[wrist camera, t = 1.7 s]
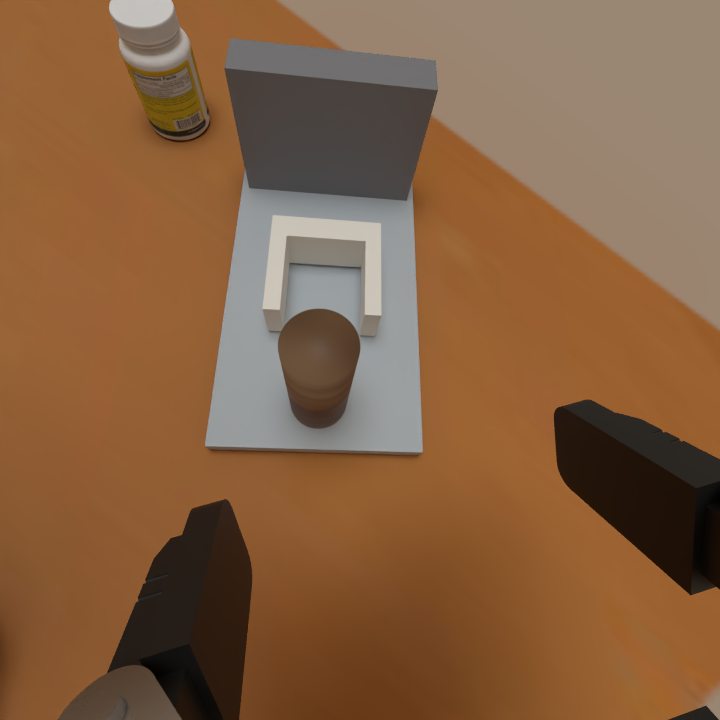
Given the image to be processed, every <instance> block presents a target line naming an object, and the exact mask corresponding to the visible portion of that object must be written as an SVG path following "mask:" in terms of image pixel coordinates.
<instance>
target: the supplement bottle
mask: <svg viewBox="0 0 720 720" xmlns="http://www.w3.org/2000/svg"><path fill="white" fill-rule="evenodd" d="M109 11H110V14H111V17H112V19H113V22H114V25H115V28H116V31H117V33H118V34H119V36H120V39H119V48H120V52H121V55H122V58H123V60H124V62H125V64H126V67H127V69H128V71H129V74H130V76H131V78H132V81H133V83H134V86H135V88H136V90H137V92H138V95H139V97H140V99H141V102H142V104H143V106H144V109H145V111H146V113H147V116H148V118H149V120H150V123H151V125H152V127H153V128H154V130H155V131H156V132H157V133H158V134H160V135H161V136H163V137H165V138H168V139H172V140H189V139H192V138H195V137H197V136H199V135H200V134H202V133H203V132H204V131H205V130H206V128H207V127H208V124H209V120H210V115H209V110H208V106H207V103H206V99H205V95H204V92H203V88H202V85H201V81H200V77H199V74H198V70H197V67H196V63H195V59H194V55H193V51H192V48H191V44H190V41H189V38H188V37H187V35H186V33H185V32H184V31H183V30H182V29H181V28H180V25H179V21H178V18H177V14H176V11H175V8H174V4H173V2H172V1H171V0H111V2H110V5H109Z"/></svg>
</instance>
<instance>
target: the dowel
mask: <svg viewBox="0 0 720 720" xmlns="http://www.w3.org/2000/svg"><path fill="white" fill-rule="evenodd" d="M278 353H279V358H280V362H281V366H282V371H283V375H284V379H285V384H286V388H287V392H288V397H289V401H290V405H291V410H292V412H293V414H294V416H295V417H296V419H297V420H298V421H299V422H300V423H302V424H303V425H305V426H307V427H310V428H315V429H321V428H326V427H329V426H331V425H333V424H335V423H336V422H337V421H338V420H339V419H340V418H341V417H342V415H343V414H344V411H345V409H346V405H347V401H348V397H349V393H350V390H351V386H352V382H353V378H354V374H355V370H356V366H357V363H358V359H359V355H360V339H359V335H358V333H357V331H356V329H355V327H354V326H353V324H352V323H351V322H350V321H349V320H348V319H347V318H346V317H344V316H343V315H341V314H339V313H337V312H335V311H332V310H328V309H310V310H306V311H303V312H301V313H298V314H297V315H295V316H294V317H292V318H291V319H290V320H289V321H288V322H287V323H286V324H285V326H284V327H283V329H282V331H281V333H280V335H279V339H278Z"/></svg>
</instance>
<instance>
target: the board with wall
mask: <svg viewBox="0 0 720 720" xmlns="http://www.w3.org/2000/svg"><path fill="white" fill-rule="evenodd" d="M225 73H226V78H227V83H228V87H229V92H230V97H231V102H232V107H233V112H234V117H235V122H236V126H237V131H238V136H239V141H240V146H241V151H242V156H243V161H244V165H245V173H244V180H243V187H242V194H241V200H240V207H239V214H238V221H237V228H236V235H235V242H234V249H233V256H232V263H231V269H230V276H229V283H228V290H227V297H226V304H225V311H224V318H223V325H222V332H221V338H220V345H219V352H218V359H217V366H216V373H215V380H214V387H213V394H212V400H211V407H210V414H209V421H208V428H207V435H206V442H205V447H207V448H208V449H216V450H251V451H286V452H321V453H356V454H391V455H420V454H421V453H423V446H422V420H421V394H420V369H419V343H418V317H417V291H416V265H415V240H414V214H413V188H412V180H413V177H414V173H415V169H416V166H417V162H418V159H419V155H420V152H421V148H422V145H423V141H424V137H425V134H426V130H427V127H428V123H429V120H430V116H431V113H432V109H433V106H434V102H435V98H436V95H437V91H438V86H437V72H436V61H434V60H425V59H416V58H407V57H398V56H389V55H379V54H371V53H361V52H352V51H343V50H334V49H325V48H316V47H307V46H297V45H288V44H279V43H270V42H261V41H252V40H243V39H234V38H230V42H229V47H228V52H227V58H226V63H225ZM273 215H280V216H293V217H306V218H319V219H333V220H346V221H359V222H372V223H381V319H380V322H379V325H378V328H377V331H376V334H375V336H364V335H360V300H361V267H348V266H333V265H317V264H302V263H289V275H288V286H287V298H286V309H285V321H284V326H285V324H286V323H287V322H288V321H289V320H290V319H291V318H292V317H294V316H295V315H297V314H298V313H301V312H303V311H306V310H310V309H328V310H332V311H335V312H337V313H339V314H341V315H343V316H344V317H346V318H347V319H348V320H349V321H350V322H351V323H352V324H353V326H354V327H355V329H356V331H357V333H358V335H359V339H360V355H359V359H358V363H357V366H356V370H355V374H354V378H353V382H352V386H351V390H350V393H349V397H348V401H347V405H346V409H345V411H344V414H343V415H342V417H341V418H340V419H339V420H338V421H337V422H336V423H335V424H333V425H331V426H329V427H326V428H321V429H315V428H310V427H307V426H305V425H303V424H302V423H300V422H299V421H298V420H297V419H296V417H295V416H294V414H293V412H292V410H291V405H290V401H289V397H288V392H287V388H286V384H285V379H284V375H283V371H282V366H281V362H280V358H279V353H278V339H279V335H280V333H281V331H269V330H268V328H267V325H266V321H265V317H264V313H263V309H262V308H263V299H264V290H265V280H266V271H267V262H268V253H269V244H270V235H271V225H272V216H273Z"/></svg>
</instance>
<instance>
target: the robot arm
mask: <svg viewBox="0 0 720 720" xmlns="http://www.w3.org/2000/svg"><path fill="white" fill-rule="evenodd" d="M554 427H555V442H556V456H557V466H558V469H559V472H560V475H561V477H562V479H563V480H564V482H565V483H566V485H567V486H568V487H569V488H570V489H571V490H572V491H573V492H574V493H575V494H577V495H578V496H579V497H580V498H581V499H582V500H583V501H584V502H586V503H587V504H588V505H589V506H590V507H591V508H592V509H593V510H595V511H596V512H597V513H598V514H599V515H600V516H601V517H603V518H604V519H605V520H606V521H607V522H608V523H609V524H610V525H612V526H613V527H614V528H615V529H616V530H617V531H618V532H620V533H621V534H622V535H623V536H624V537H625V538H626V539H627V540H629V541H630V542H631V543H632V544H633V545H634V546H635V547H637V548H638V549H639V550H640V551H641V552H642V553H643V554H644V555H646V556H647V557H648V558H649V559H650V560H651V561H652V562H654V563H655V564H656V565H657V566H658V567H659V568H660V569H661V570H663V571H664V572H665V573H666V574H667V575H668V576H669V577H671V578H672V579H673V580H674V581H675V582H676V583H677V584H678V585H680V586H681V587H682V588H683V589H684V590H685V591H686V592H688V593H689V594H690V595H693V594H696V593H699V592H702V591H705V590H708V589H711V588H714V587H717V588H719V589H720V459H718V458H716V457H714V456H712V455H710V454H708V453H706V452H704V451H702V450H700V449H698V448H696V447H694V446H692V445H691V444H689V443H687V442H685V441H682V442H681V441H680V440H679V438H677V437H675V436H673V435H671V434H669V433H667V432H664V433H663V432H662V430H661V429H659V428H657V427H655V426H653V425H651V424H649V423H647V422H646V421H644V420H642V419H638V418H634V417H630V416H627V415H623V414H619V413H614V412H613V411H611V410H609V409H607V408H605V407H603V406H601V405H599V404H598V403H596V402H594V401H592V400H583V401H580V402H576V403H572V404H569V405H565V406H562V407H558V408H557V409H556V410H555V413H554ZM145 580H146V583H145V584H143V587H142V589H141V591H140V594H139V596H138V602H136V604H135V606H134V609H133V611H132V613H131V616H130V618H129V621H128V623H127V626H126V628H125V630H124V633H123V635H122V638H121V640H120V643H119V645H118V648H117V650H116V652H115V655H114V657H113V660H112V662H111V665H110V667H109V670H108V672H107V674H105V675H103V676H102V677H100V678H99V679H97V680H96V681H94V682H93V683H92V684H90V685H89V686H88V687H86V688H85V689H84V690H83V691H82V692H81V693H80V694H79V695H78V696H77V697H76V698H75V699H74V700H73V701H72V702H71V703H70V704H69V705H68V706H67V708H66V709H65V710H64V711H63V713H62V714H61V716H60V717H59V718H58V720H239V713H240V703H241V693H242V682H243V672H244V662H245V651H246V641H247V631H248V620H249V610H250V600H251V589H252V568H251V562H250V557H249V554H248V551H247V548H246V545H245V542H244V540H243V537H242V534H241V531H240V529H239V526H238V523H237V520H236V517H235V515H234V512H233V509H232V507H231V504H230V503H229V501H228V500H226V499H224V500H221V501H217V502H214V503H210V504H206V505H203V506H199V507H196V508H193V509H192V510H191V511H190V514H189V517H188V519H187V522H186V525H185V528H184V531H183V534H182V535H181V536H177V537H174V538H171V539H170V540H169V541H168V542H167V544H166V545H165V546H164V547H163V548H162V550H161V551H160V552H159V553H158V554H157V556H156V557H155V558H154V560H153V562H152V565H151V567H150V569H149V572H148V574H147V577H146V579H145ZM669 720H718V718H717V717H716V716H715V715H714V714H713V713H712V712H711V711H710V709H709V708H708V707H707V706H704V707H701V708H699V709H696V710H693V711H691V712H688V713H685V714H682V715H680V716H677V717H674V718H672V719H669Z"/></svg>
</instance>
